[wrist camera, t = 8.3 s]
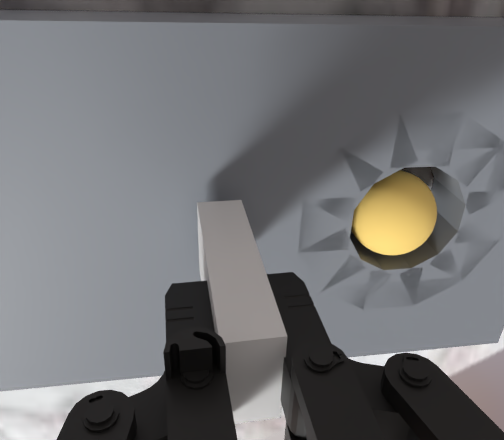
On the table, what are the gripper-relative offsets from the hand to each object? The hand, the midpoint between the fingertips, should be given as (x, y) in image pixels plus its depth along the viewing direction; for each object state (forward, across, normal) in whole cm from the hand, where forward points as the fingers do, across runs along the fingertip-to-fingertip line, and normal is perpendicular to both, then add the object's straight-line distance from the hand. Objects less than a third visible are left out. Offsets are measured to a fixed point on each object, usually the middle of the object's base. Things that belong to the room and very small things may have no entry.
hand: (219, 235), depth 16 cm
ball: (+1, +7, 0) cm, 7 cm away
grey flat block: (+3, -1, 0) cm, 3 cm away
